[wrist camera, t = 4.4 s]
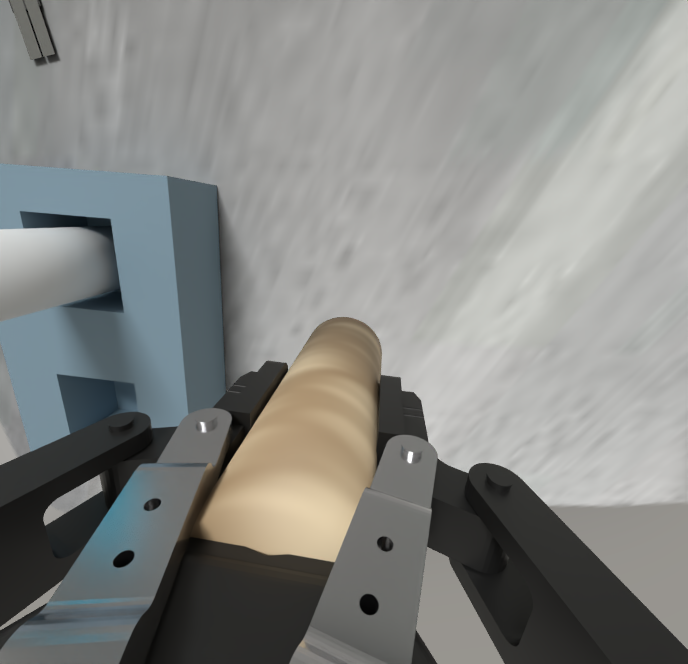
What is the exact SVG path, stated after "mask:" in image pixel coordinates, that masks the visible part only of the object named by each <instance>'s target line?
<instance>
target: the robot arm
mask: <svg viewBox="0 0 688 664" xmlns="http://www.w3.org/2000/svg"><path fill="white" fill-rule="evenodd" d="M287 372H288V365H287V363H282V362H274V361H266V362H265V364H264V365H263V366H262V367H261V368H260V370H259V371H258V372H252V371H251V372H249V373H247V374H245V375H243V376H241V377H240V378H239V379H238V380H237V381H236V382H235V383H234V386H232V387H231V388H230V389H229V391H228V392H226V393H225V394H224V396H223V397H222V398H221V399H220V400H219V401H218V402H217V403H216V404H215V405H214V407H213V408H206V409H201V410H197V411H194V412H192V413H190V414H188V415H187V416H185V417H184V418H183V419H182V421H181V422H180V424H179V426H176V427H161V428H152V426H151V419H150V417H149V416H148V415H147V414H144V413H141V412H125V413H120V414H116V415H112V416H110V417H107V418H105V419H103V420H101V421H98V422H96V423H94V424H92V425H89V426H87V427H85V428H83V429H80V430H78V431H76V432H74V433H72V434H69V435H67V436H65V437H63V438H60V439H58V440H56V441H54V442H51V443H49V444H47V445H45V446H42V447H40V448H38V449H36V450H34V451H31V452H29V453H27V454H25V455H22V456H20V457H18V458H16V459H14V460H11V461H9V462H7V463H5V464H2V465H0V627H1V626H2V625H3V624H5V623H6V622H7V621H9V620H10V619H11V618H12V617H14V616H15V615H17V614H18V613H19V612H20V611H22V610H23V609H25V608H26V607H27V606H28V605H30V604H31V603H33V602H34V601H35V600H37V599H38V598H39V597H41V596H42V595H43V594H44V593H46V592H47V591H48V590H50V589H51V588H52V587H54V586H55V585H56V584H58V583H59V582H60V581H62V580H63V581H62V582H61V584H60V585H59V587H58V588H57V590H56V591H55V593H54V594H53V596H52V597H51V599H50V601H49V602H48V603H47V604H45V605H43V606H41V607H39V608H38V609H36V610H34V611H33V612H31V613H29V614H28V615H26V616H24V617H22V618H21V619H19V620H18V621H16V622H14V623H12V624H11V625H9V626H7V627H5V628H4V629H2V630H0V664H437V663H436V661H435V659H434V658H433V656H432V655H431V653H430V651H429V650H428V648H427V647H426V645H425V643H424V642H423V640H422V639H421V637H420V635H419V634H418V633H417V631H416V624H417V617H418V609H419V602H420V595H421V587H422V580H423V572H424V565H425V557H426V550H427V547H429V548H431V549H433V550H435V551H437V552H439V553H442V554H444V555H446V556H448V557H449V560H450V564H451V566H452V568H453V570H454V571H455V573H456V575H457V577H458V579H459V581H460V583H461V585H462V586H463V588H464V590H465V592H466V594H467V595H468V597H469V599H470V601H471V603H472V605H473V606H474V608H475V610H476V612H477V614H478V615H479V617H480V619H481V621H482V623H483V624H484V627H485V628H486V630H487V632H488V634H489V636H490V638H491V639H492V641H493V643H494V645H495V647H496V648H497V650H498V652H499V654H500V656H501V658H502V659H503V661H504V663H505V664H688V649H686V647H685V646H684V645H683V644H682V643H681V642H680V641H679V640H678V639H677V638H676V637H675V636H674V635H673V634H672V633H671V632H670V631H669V630H668V629H667V628H666V627H665V626H664V625H663V624H662V623H661V622H660V621H659V620H658V619H657V618H656V617H655V616H654V615H653V614H652V613H651V612H650V611H649V609H648V608H647V607H646V606H645V605H644V604H643V603H642V602H641V601H640V600H639V599H638V598H637V597H636V596H635V595H634V594H633V593H632V592H631V591H630V590H629V589H628V588H627V587H626V586H625V585H624V584H623V583H622V582H621V581H620V580H619V579H618V578H617V577H616V576H615V575H614V574H613V573H612V572H611V571H610V569H608V568H607V566H606V565H605V564H604V563H603V562H602V561H600V559H599V558H598V557H597V556H596V555H595V554H594V553H593V552H592V551H591V550H590V549H589V548H588V547H587V546H586V545H585V544H584V543H583V542H582V541H581V540H580V539H579V538H578V537H577V536H576V535H575V534H574V533H573V532H572V531H571V530H570V529H569V528H568V527H567V526H566V525H565V523H564V522H563V521H562V520H561V519H560V518H559V517H558V516H557V515H556V514H555V513H554V512H553V511H552V510H551V509H550V508H549V507H548V506H547V505H546V504H545V503H544V502H543V501H542V500H541V499H540V498H539V497H538V496H537V495H536V494H535V493H534V492H533V491H532V490H531V488H530V487H529V486H528V485H527V484H526V483H525V482H524V481H523V480H522V479H521V478H520V477H518V476H517V475H516V474H515V473H513V472H512V471H510V470H508V469H506V468H504V467H501V466H499V465H495V464H490V463H480V464H476V465H474V466H473V467H471V469H470V471H469V473H466V472H463V471H461V470H458V469H455V468H453V467H451V466H448V465H447V464H445V463H443V462H442V461H440V460H439V459H438V455H437V452H436V450H435V448H434V447H433V446H432V445H431V444H430V443H429V442H428V437H427V431H426V426H425V420H424V415H423V411H422V404H421V400H420V399H419V398H418V397H417V396H416V394H415V393H414V392H406V391H402V390H401V378H400V377H393V376H385V375H381V377H380V384H379V403H378V423H377V444H376V452H377V471H376V473H375V476H374V478H373V481H372V484H371V486H370V488H368V487H365V489H364V491H363V493H362V495H361V498H360V500H359V503H358V505H357V508H356V510H355V513H354V515H353V518H352V520H351V523H350V525H349V528H348V530H347V533H346V535H345V538H344V540H343V543H342V545H341V548H340V550H339V553H338V555H337V558H336V560H335V562H331V561H325V560H319V559H314V558H308V557H302V556H297V555H291V554H283V555H263V554H260V553H258V552H256V551H254V550H252V549H250V548H248V547H246V546H240V545H234V544H229V543H223V542H217V541H212V540H206V539H200V538H195V537H190V535H191V533H192V530H193V526H194V524H195V522H196V520H197V518H198V516H199V514H200V512H201V510H202V507H203V505H204V504H205V502H206V500H207V498H208V496H209V494H210V493H211V491H212V489H213V487H214V486H215V484H216V483H217V481H218V480H219V478H220V477H221V475H222V473H223V472H224V470H225V469H226V467H227V466H228V464H229V463H230V461H231V459H232V458H233V456H234V455H235V453H236V452H237V450H238V448H239V447H240V445H241V444H242V442H243V441H244V439H245V438H246V436H247V434H248V433H249V431H250V430H251V428H252V427H253V425H254V424H255V422H256V420H257V419H258V417H259V416H260V414H261V413H262V411H263V409H264V408H265V406H266V405H267V403H268V402H269V400H270V399H271V397H272V395H273V394H274V392H275V391H276V389H277V388H278V386H279V384H280V383H281V381H282V380H283V378H284V377H285V375H286V374H287ZM97 475H100V480H101V485H102V490H103V491H101V492H100V493H98V494H97V495H95V496H93V497H92V498H90V499H88V500H87V501H85V502H84V503H82V504H80V505H79V506H77V507H75V508H74V509H72V510H70V511H69V512H67V513H66V514H64V515H62V516H61V517H59V518H58V519H56V520H55V521H53V522H51V523H49V524H48V525H46V526H45V525H44V522H43V516H44V513H45V511H46V509H47V508H48V506H49V505H50V504H51V503H52V502H53V501H55V500H56V499H57V498H59V497H60V496H62V495H64V494H66V493H67V492H69V491H71V490H73V489H74V488H76V487H78V486H80V485H81V484H83V483H85V482H87V481H88V480H90V479H92V478H94V477H95V476H97Z"/></svg>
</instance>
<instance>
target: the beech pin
mask: <svg viewBox="0 0 688 664" xmlns="http://www.w3.org/2000/svg"><path fill="white" fill-rule="evenodd" d="M381 359H382V350H381V345H380V342H379V339H378V337H377V336H376V334H375V333H374V331H373V330H372V329H371V328H370V327H369V326H367V325H366V324H364V323H363V322H361V321H359V320H356V319H353V318H348V317H337V318H332V319H330V320H327V321H325V322H323V323H322V324H320V325H319V326H318V327H317V328H316V329H315V330H314V332H313V333H312V335H311V336H310V338H309V339H308V341H307V342H306V344H305V345H304V347H303V349H302V350H301V352H300V353H299V355H298V356H297V358H296V360H295V361H294V363H293V364H292V366H291V367H290V369H289V370H288V372H287V374H286V375H285V377H284V378H283V380H282V381H281V383H280V384H279V386H278V388H277V389H276V391H275V392H274V394H273V395H272V397H271V399H270V400H269V402H268V403H267V405H266V406H265V408H264V409H263V411H262V413H261V414H260V416H259V417H258V419H257V420H256V422H255V424H254V425H253V427H252V428H251V430H250V431H249V433H248V434H247V436H246V438H245V439H244V441H243V442H242V444H241V445H240V447H239V448H238V450H237V452H236V453H235V455H234V456H233V458H232V459H231V461H230V463H229V464H228V466H227V467H226V469H225V470H224V472H223V473H222V475H221V477H220V478H219V480H218V481H217V483H216V484H215V486H214V487H213V489H212V491H211V493H210V494H209V496H208V498H207V500H206V502H205V504H204V505H203V507H202V510H201V512H200V514H199V516H198V518H197V520H196V522H195V524H194V526H193V530H192V533H191V535H190V537H195V538H200V539H206V540H212V541H217V542H223V543H229V544H234V545H240V546H246V547H248V548H250V549H252V550H254V551H256V552H258V553H260V554H263V555H283V554H291V555H297V556H302V557H308V558H314V559H319V560H325V561H331V562H335V560H336V558H337V555H338V553H339V550H340V548H341V545H342V543H343V540H344V538H345V535H346V533H347V530H348V528H349V525H350V523H351V520H352V518H353V515H354V513H355V510H356V508H357V505H358V503H359V500H360V498H361V495H362V493H363V491H364V489H365V487H368V488H370V486H371V484H372V481H373V478H374V476H375V473H376V471H377V452H376V444H377V423H378V403H379V384H380V377H381Z"/></svg>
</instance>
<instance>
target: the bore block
mask: <svg viewBox="0 0 688 664" xmlns="http://www.w3.org/2000/svg"><path fill="white" fill-rule="evenodd" d="M0 342H1V346H2V350H3V353H4V357H5V360H6V364H7V368H8V371H9V375H10V378H11V382H12V386H13V389H14V393H15V396H16V400H17V404H18V407H19V411H20V414H21V418H22V422H23V425H24V429H25V432H26V436H27V440H28V443H29V447H30V450H31V451H34V450H36V449H38V448H40V447H42V446H45V445H47V444H49V443H51V442H54V441H56V440H58V439H60V438H63V437H65V436H67V435H69V434H72V433H74V432H76V431H78V430H80V429H83V428H85V427H87V426H89V425H92V424H94V423H96V422H98V421H101V420H103V419H105V418H107V417H110V416H112V415H116V414H120V413H125V412H141V413H144V414H147V415H148V416H149V417H150V419H151V426H152V428H161V427H176V426H179V424H180V422H181V421H182V419H183V418H184V417H185V416H187V415H188V414H190V413H192V412H194V411H197V410H201V409H206V408H213V407H214V405H215V404H216V403H217V402H218V401H219V400H220V399H221V398H222V397H223V396H224V394H225V393H226V383H225V361H224V338H223V316H222V293H221V271H220V249H219V226H218V204H217V186H215V185H210V184H205V183H200V182H195V181H190V180H184V179H179V178H174V177H169V176H159V175H146V174H132V173H119V172H105V171H92V170H79V169H65V168H52V167H38V166H25V165H12V164H0Z"/></svg>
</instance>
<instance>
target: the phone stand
mask: <svg viewBox="0 0 688 664" xmlns="http://www.w3.org/2000/svg"><path fill="white" fill-rule="evenodd" d="M9 2H10V5H11V8H12V11H13V13H14V14H15V17H16V19H17V22H18V25H19V28H20V31H21V34H22V36H23V39H24V42H25V45H26V48H27V50H28V53H29V56H30V59H31V60H33V59H37V58H41V57H42V56H41V53H40V50H39V47H38V44H37V41H36V38H35V35H34V33H33V30H32V27H31V24H30V21H29V18H28V15H27V12H26V10H28V13H29V16H30V19H31V22H32V24H33V27H34V30H35V33H36V36H37V39H38V42H39V45H40V48H41V51H42V54H43V56H44V57H45V56H49V55H53V54H55V53H54V50H53V47H52V44H51V41H50V38H49V35H48V32H47V29H46V26H45V23H44V20H43V17H42V14H41V11H40V8H39V6H41V4H40V1H39V0H9Z"/></svg>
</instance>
